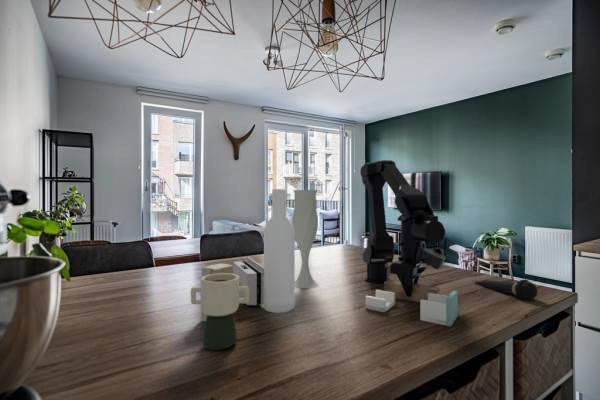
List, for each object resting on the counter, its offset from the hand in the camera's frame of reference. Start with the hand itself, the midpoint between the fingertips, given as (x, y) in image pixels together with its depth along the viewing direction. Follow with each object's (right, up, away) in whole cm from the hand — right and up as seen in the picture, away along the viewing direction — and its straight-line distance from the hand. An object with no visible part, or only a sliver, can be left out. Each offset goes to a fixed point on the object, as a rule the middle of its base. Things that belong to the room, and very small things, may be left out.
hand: (411, 294), depth 93 cm
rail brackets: (-5, -1, -10) cm, 11 cm away
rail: (0, -1, 0) cm, 1 cm away
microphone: (+30, -2, +7) cm, 31 cm away
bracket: (-45, -1, -1) cm, 45 cm away
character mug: (-46, -2, -29) cm, 54 cm away
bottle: (-36, -1, -8) cm, 37 cm away
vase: (-29, -1, +14) cm, 32 cm away
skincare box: (-50, -1, -15) cm, 52 cm away
